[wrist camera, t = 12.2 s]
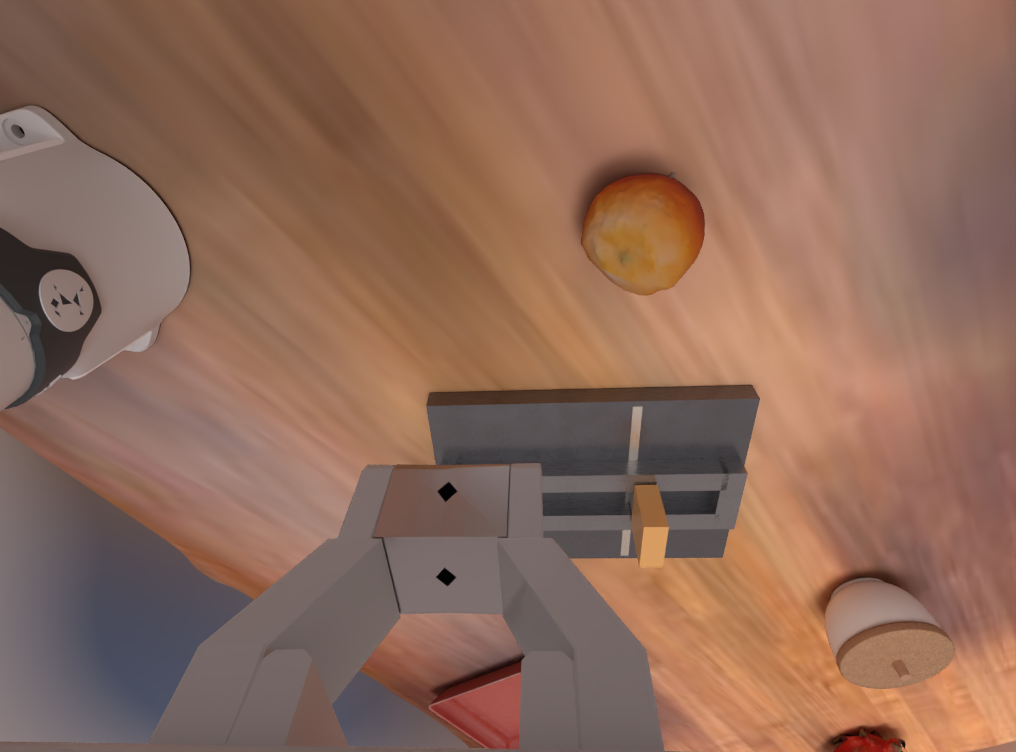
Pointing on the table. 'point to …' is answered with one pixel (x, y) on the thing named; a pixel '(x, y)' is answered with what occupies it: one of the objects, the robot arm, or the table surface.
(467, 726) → the plant saucer
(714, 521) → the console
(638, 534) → the block
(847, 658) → the lidded jar
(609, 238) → the fruit
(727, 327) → the table surface
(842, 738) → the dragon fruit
